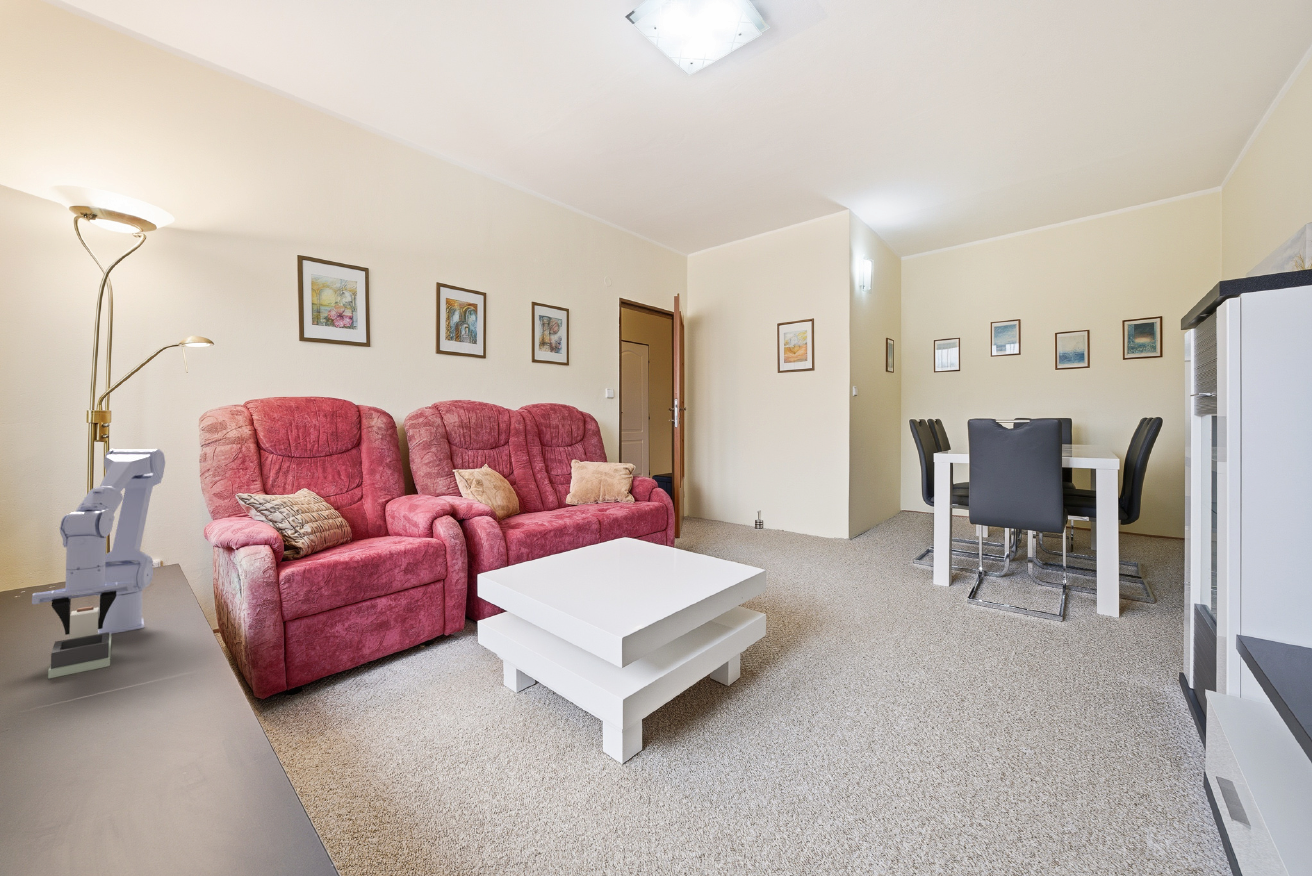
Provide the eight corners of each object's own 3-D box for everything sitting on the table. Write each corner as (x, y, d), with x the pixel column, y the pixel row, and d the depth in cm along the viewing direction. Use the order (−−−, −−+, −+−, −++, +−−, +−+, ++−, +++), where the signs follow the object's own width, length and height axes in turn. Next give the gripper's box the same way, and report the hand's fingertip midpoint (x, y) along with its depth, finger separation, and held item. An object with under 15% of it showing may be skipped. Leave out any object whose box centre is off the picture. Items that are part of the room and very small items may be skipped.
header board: (57, 650, 111) (57, 629, 111) (111, 640, 117) (111, 620, 117) (48, 678, 97) (48, 654, 97) (109, 665, 103) (110, 643, 103)
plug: (70, 639, 111) (71, 608, 111) (98, 634, 114) (99, 604, 114) (69, 645, 107) (70, 613, 108) (97, 640, 110) (98, 609, 111)
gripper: (31, 576, 103) (29, 644, 103) (134, 564, 113) (132, 626, 113) (35, 570, 108) (33, 635, 108) (133, 559, 118) (132, 619, 118)
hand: (84, 630), depth 111 cm, fingers closed on plug, 4 cm apart
